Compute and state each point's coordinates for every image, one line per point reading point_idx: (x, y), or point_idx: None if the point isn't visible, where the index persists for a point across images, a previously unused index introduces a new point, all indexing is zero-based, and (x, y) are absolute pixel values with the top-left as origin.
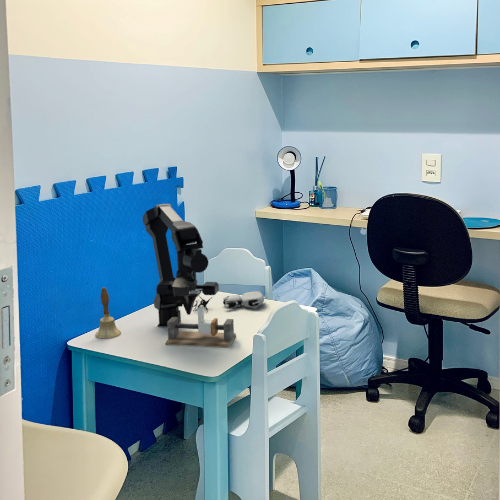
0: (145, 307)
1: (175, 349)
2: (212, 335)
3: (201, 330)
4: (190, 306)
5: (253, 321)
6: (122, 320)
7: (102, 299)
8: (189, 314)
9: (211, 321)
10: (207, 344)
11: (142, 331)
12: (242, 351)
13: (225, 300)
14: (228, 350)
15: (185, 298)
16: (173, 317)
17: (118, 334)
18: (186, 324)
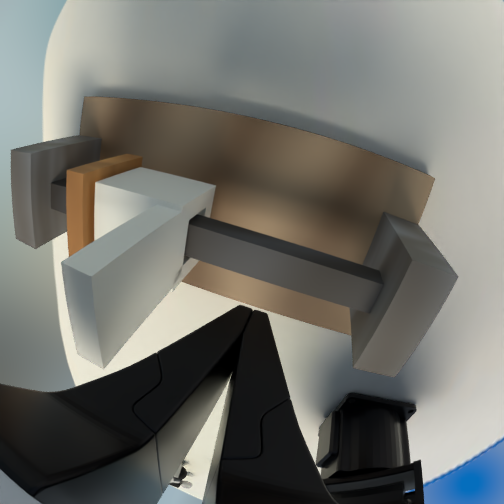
0: None
1: (371, 81)
2: (135, 157)
3: (185, 184)
4: (181, 350)
5: (80, 356)
6: (483, 443)
7: None
8: (241, 305)
9: (98, 232)
10: (178, 105)
11: (479, 370)
12: (57, 59)
13: (175, 475)
14: (96, 59)
15: (211, 490)
16: (387, 369)
17: None
18: (294, 270)
